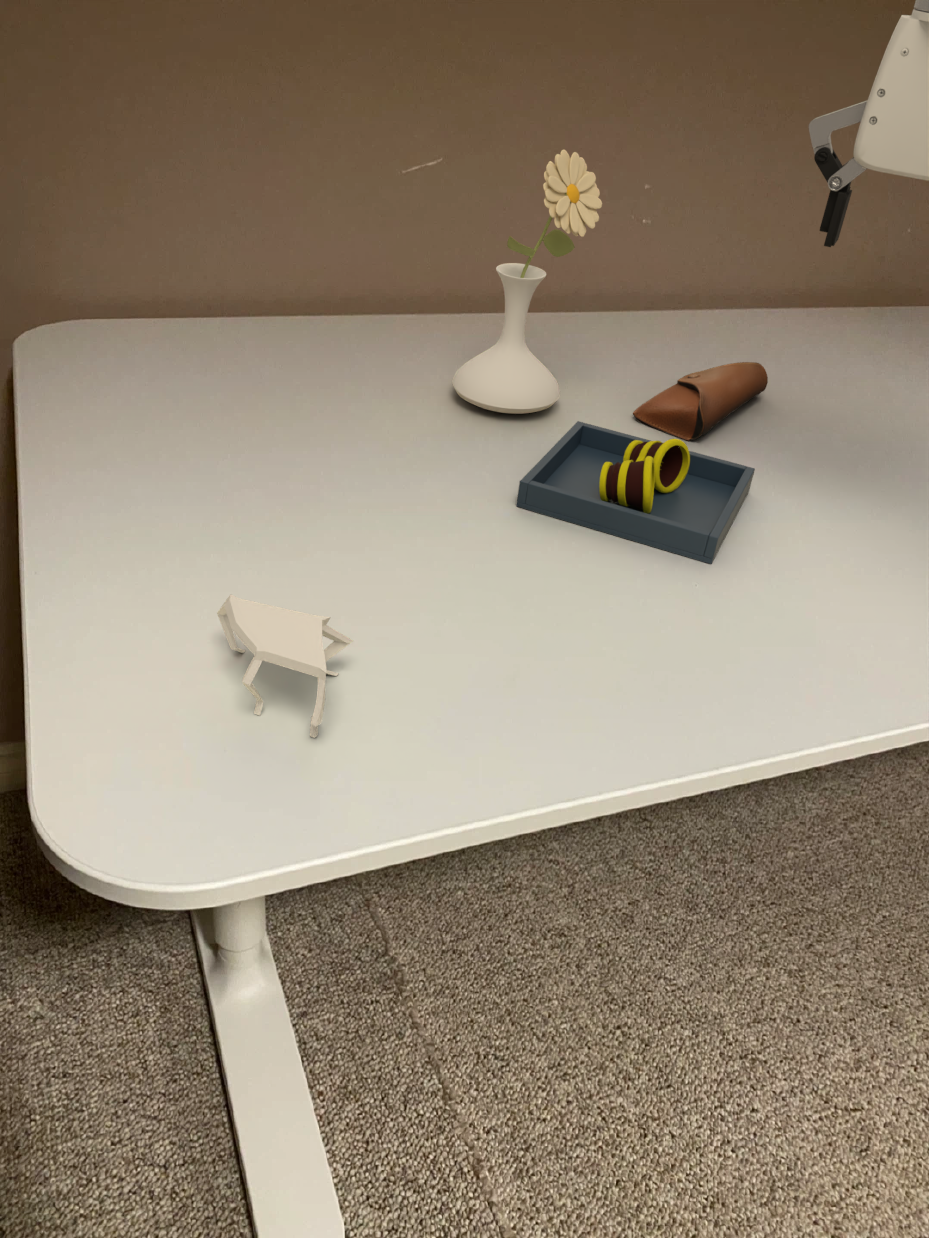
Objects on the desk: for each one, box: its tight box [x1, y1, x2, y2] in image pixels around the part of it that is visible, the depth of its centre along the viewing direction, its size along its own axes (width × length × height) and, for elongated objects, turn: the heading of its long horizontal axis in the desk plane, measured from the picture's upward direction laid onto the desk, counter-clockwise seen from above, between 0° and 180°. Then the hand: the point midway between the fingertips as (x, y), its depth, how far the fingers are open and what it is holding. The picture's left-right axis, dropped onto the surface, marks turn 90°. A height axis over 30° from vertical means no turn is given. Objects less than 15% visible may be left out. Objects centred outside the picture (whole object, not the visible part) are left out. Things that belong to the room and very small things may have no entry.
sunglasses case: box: [632, 361, 769, 442], centre depth 117 cm, size 18×7×7 cm
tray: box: [515, 420, 756, 565], centre depth 98 cm, size 18×16×2 cm
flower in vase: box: [451, 149, 603, 415], centre depth 108 cm, size 13×11×25 cm
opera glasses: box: [599, 438, 690, 514], centre depth 97 cm, size 10×5×5 cm, turn 148°
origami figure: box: [216, 593, 354, 739], centre depth 70 cm, size 12×8×5 cm
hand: (893, 256), depth 83 cm, fingers open, 9 cm apart
